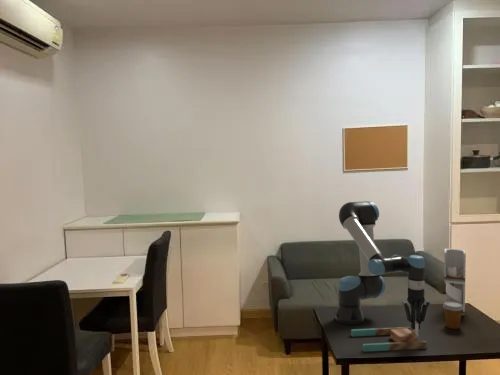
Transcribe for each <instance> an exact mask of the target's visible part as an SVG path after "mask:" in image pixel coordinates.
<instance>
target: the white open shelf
mask: <svg viewBox="0 0 500 375" xmlns="http://www.w3.org/2000/svg"><path fill="white" fill-rule="evenodd" d="M466 259H467V258H466V250H465V249H458V248H457V249H456V248H455V249H454V248H444V258H443V260H444V261H443V262H444V265H443V266H444V269H443V270H444V272H443V273H444V274H443V280H444V283H445V302H449V301H451V302H458V303H460V304H462V307H463V309H462V313H461V316H465V315H466ZM443 313H444V314H445V312H444V311H443Z"/></svg>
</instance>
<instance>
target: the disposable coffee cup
mask: <svg viewBox="0 0 500 375" xmlns="http://www.w3.org/2000/svg"><path fill="white" fill-rule="evenodd" d="M442 306H443V313H444V312H445V313H444V317H445V325H446V327H447V328H449V329H453V330H454V329H455V330H456V329H460V326H461V319H462V315H461V313H462V309H463V307H462V304H460V303H458V302H451V301H449V302H446V301H444V302H443V305H442Z"/></svg>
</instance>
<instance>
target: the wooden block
mask: <svg viewBox="0 0 500 375" xmlns="http://www.w3.org/2000/svg"><path fill="white" fill-rule="evenodd" d="M389 336H390V339H391V340H392V341H394V342H412V341H418V337H417V335H416V334H415V333H413V330H411V329H410V330H409V329H408V328H405V329H393V330H390V335H389Z"/></svg>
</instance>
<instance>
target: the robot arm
mask: <svg viewBox="0 0 500 375" xmlns="http://www.w3.org/2000/svg"><path fill="white" fill-rule="evenodd" d="M340 207H341V208H339V212H338V219H339V222H340V225H341V226H342V227H343V229H345V230H346V231H348V233H349V234H350V236H351V237H352V240H354V242H355V243H356V244H357V246H358V250H359V262H360V264H359V265H360V272H359V273H358V275H346V276H344V277H341V278H340V279H339V280H338V286H337V287H338V306H337V309H336V312H335V321H336V322H338V323H340V324H344V325H351V326H353V325H360V324H362V323H364V321H365V318H364V314H363V310H362V307H361V301H363V300H368V299H370V300H371V299H376V298H379V297H381V296H383V294H385V290H386V282H385V280H384V278H383V277H382V275H384V274H385V275H386V274H392V273H394V274H395V273H399V272H401V273H405V274H407V298H406V301H402V302H401V304H402V306H403V308H404V310H405V315H406V319H407V321H408V322H409V323H410V324H411V325H410V326H411V327H410V329H412V332H413V333H415V334H416V335H417V338H418V337H419V330H420V329H421V324H422V323H423V322H425V320H426V314H427V311H428V308H429V306H430V302H429V301H428V300H426V298H425V273H426V272H425V268H426V264H425V257H423V256H422V255H416V254H412V255H409V256H408V257H407V256H404V255H401V254H393V255H391V256H390V257H385V256H384V255H383V253H382V252H381V250H380V249H379V248H378V246H377V245H376V243H375V235H374V227H375V226H376V221H378V220H379V217H380V211H379V208H378V206H377V204H376V203H375V202H373V201H369V200H368V201H366V200H364V201H353V202H352V201H351V202H350V201H348V202H346V203H344V204H343V205H342V206H340ZM409 305H410V306H409Z"/></svg>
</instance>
